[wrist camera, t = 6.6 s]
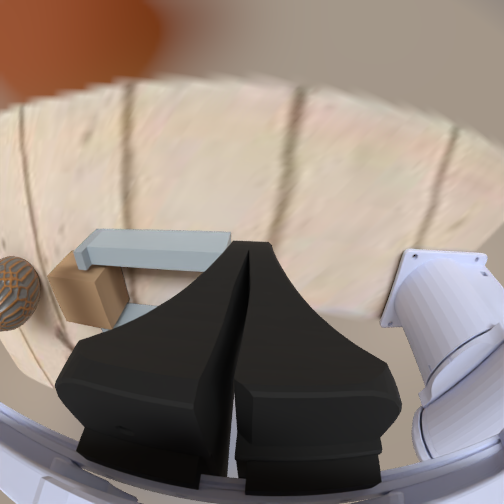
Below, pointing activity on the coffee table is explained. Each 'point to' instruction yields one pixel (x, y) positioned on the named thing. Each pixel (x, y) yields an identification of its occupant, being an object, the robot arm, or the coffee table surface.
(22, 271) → the vase
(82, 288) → the walnut block
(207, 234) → the pair of lipped bars
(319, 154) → the coffee table surface
